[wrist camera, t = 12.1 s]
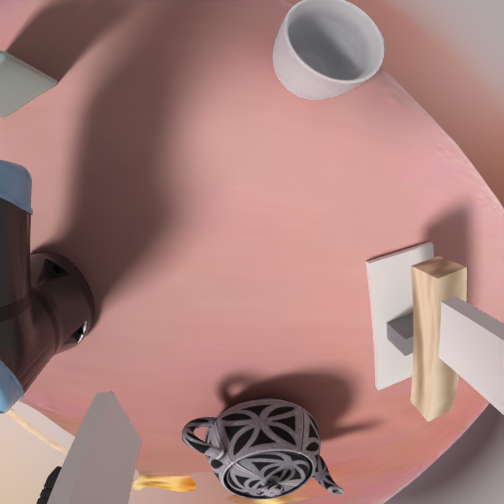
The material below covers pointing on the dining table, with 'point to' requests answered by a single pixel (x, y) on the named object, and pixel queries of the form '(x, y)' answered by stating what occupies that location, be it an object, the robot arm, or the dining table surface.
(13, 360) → the robot arm
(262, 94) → the dining table surface
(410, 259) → the fulcrum
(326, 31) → the mug
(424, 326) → the wooden beam
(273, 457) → the teapot
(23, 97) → the planter
